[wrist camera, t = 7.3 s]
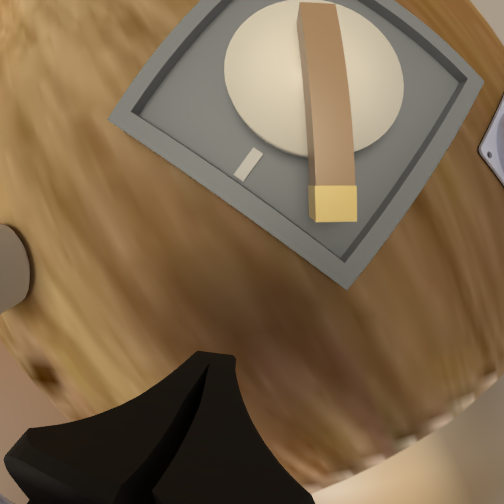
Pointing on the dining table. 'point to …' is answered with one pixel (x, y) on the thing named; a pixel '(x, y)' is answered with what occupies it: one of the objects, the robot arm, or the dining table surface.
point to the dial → (316, 92)
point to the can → (12, 269)
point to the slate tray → (285, 165)
